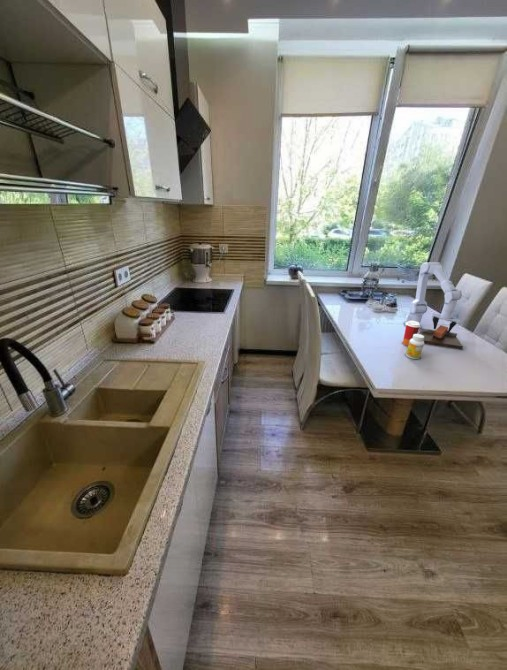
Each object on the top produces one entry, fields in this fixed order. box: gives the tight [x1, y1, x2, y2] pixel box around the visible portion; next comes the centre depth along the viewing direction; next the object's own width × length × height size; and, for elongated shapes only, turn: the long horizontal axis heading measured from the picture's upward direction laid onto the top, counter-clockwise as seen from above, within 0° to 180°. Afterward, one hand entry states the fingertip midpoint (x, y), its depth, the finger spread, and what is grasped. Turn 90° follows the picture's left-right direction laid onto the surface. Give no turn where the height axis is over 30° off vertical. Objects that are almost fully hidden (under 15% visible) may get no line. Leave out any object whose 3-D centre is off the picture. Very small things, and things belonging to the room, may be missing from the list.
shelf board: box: [419, 327, 464, 350], centre depth 171 cm, size 20×16×4 cm
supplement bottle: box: [405, 333, 425, 360], centre depth 150 cm, size 7×7×13 cm
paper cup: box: [402, 321, 422, 347], centre depth 164 cm, size 8×8×14 cm
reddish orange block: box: [433, 325, 449, 340], centre depth 171 cm, size 11×4×4 cm, turn 130°
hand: (441, 330), depth 171 cm, fingers open, 7 cm apart
